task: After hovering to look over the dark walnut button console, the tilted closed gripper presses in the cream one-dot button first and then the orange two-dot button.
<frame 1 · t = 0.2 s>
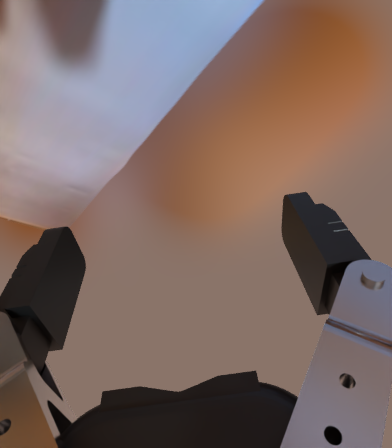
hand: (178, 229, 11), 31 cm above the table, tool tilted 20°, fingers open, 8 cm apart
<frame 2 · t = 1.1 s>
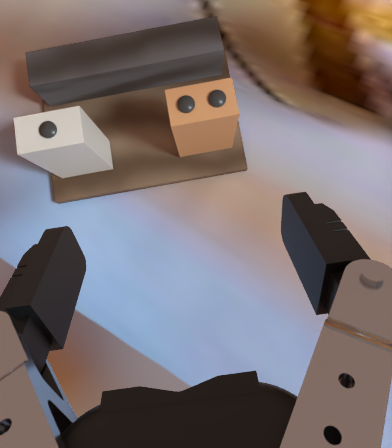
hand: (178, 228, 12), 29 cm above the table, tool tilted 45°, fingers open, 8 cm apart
two dot button: (202, 122, 35), point 6 cm above the table, slide at 0.0 cm
one dot button: (69, 146, 36), point 6 cm above the table, slide at 0.0 cm
console: (142, 124, 42), on the table
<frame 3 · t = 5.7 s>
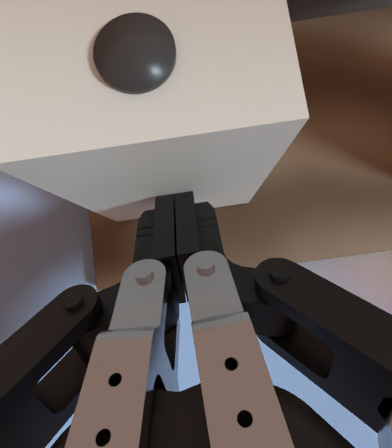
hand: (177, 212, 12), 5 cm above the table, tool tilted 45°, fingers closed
one dot button: (164, 139, 11), point 6 cm above the table, slide at 0.4 cm, touching gripper
console: (306, 103, 18), on the table
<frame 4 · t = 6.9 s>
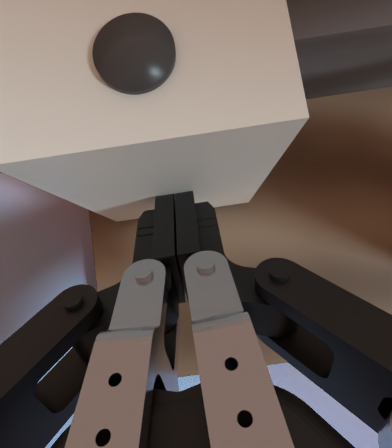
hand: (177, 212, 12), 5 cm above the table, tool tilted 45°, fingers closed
one dot button: (164, 139, 11), point 6 cm above the table, slide at 5.2 cm, touching gripper
console: (322, 181, 17), on the table
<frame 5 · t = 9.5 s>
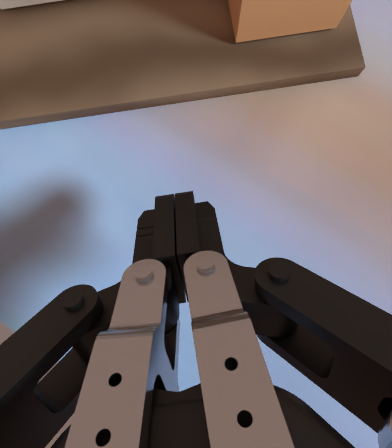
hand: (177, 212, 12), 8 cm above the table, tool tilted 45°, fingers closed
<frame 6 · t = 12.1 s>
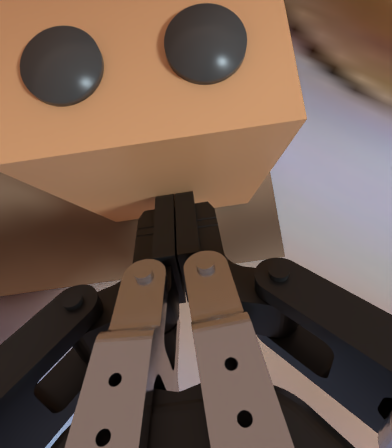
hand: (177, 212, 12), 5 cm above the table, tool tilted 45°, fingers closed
two dot button: (163, 140, 11), point 6 cm above the table, slide at 0.0 cm, touching gripper
console: (38, 137, 18), on the table
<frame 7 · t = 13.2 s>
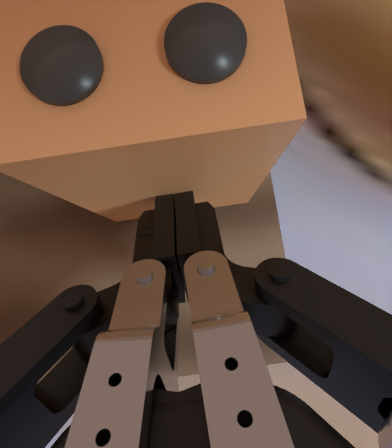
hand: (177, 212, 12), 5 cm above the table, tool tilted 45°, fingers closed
two dot button: (163, 139, 11), point 6 cm above the table, slide at 5.2 cm, touching gripper
console: (44, 222, 18), on the table
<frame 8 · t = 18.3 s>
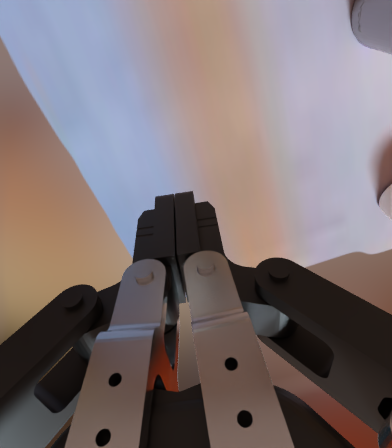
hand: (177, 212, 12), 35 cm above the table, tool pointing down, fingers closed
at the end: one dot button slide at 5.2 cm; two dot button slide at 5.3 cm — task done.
